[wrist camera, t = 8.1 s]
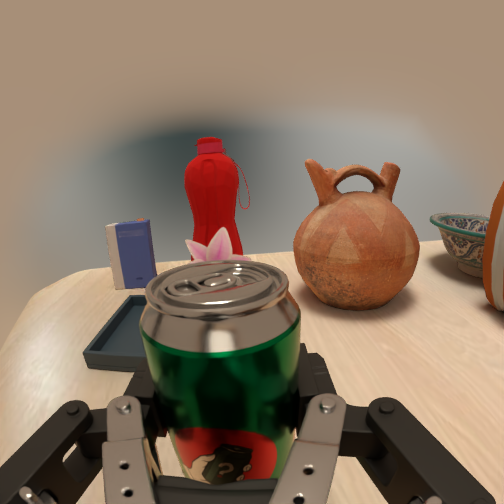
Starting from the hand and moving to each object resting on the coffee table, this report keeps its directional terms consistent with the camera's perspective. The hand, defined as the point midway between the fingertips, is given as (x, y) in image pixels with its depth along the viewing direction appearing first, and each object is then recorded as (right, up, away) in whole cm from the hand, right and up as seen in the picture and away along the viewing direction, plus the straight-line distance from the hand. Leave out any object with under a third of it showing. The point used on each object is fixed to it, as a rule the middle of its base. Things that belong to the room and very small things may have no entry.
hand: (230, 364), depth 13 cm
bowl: (+47, +1, +36) cm, 59 cm away
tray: (-13, -5, +23) cm, 27 cm away
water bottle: (-4, +1, +44) cm, 44 cm away
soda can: (0, -8, -1) cm, 8 cm away
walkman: (-20, -1, +40) cm, 45 cm away
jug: (+16, -2, +31) cm, 35 cm away
